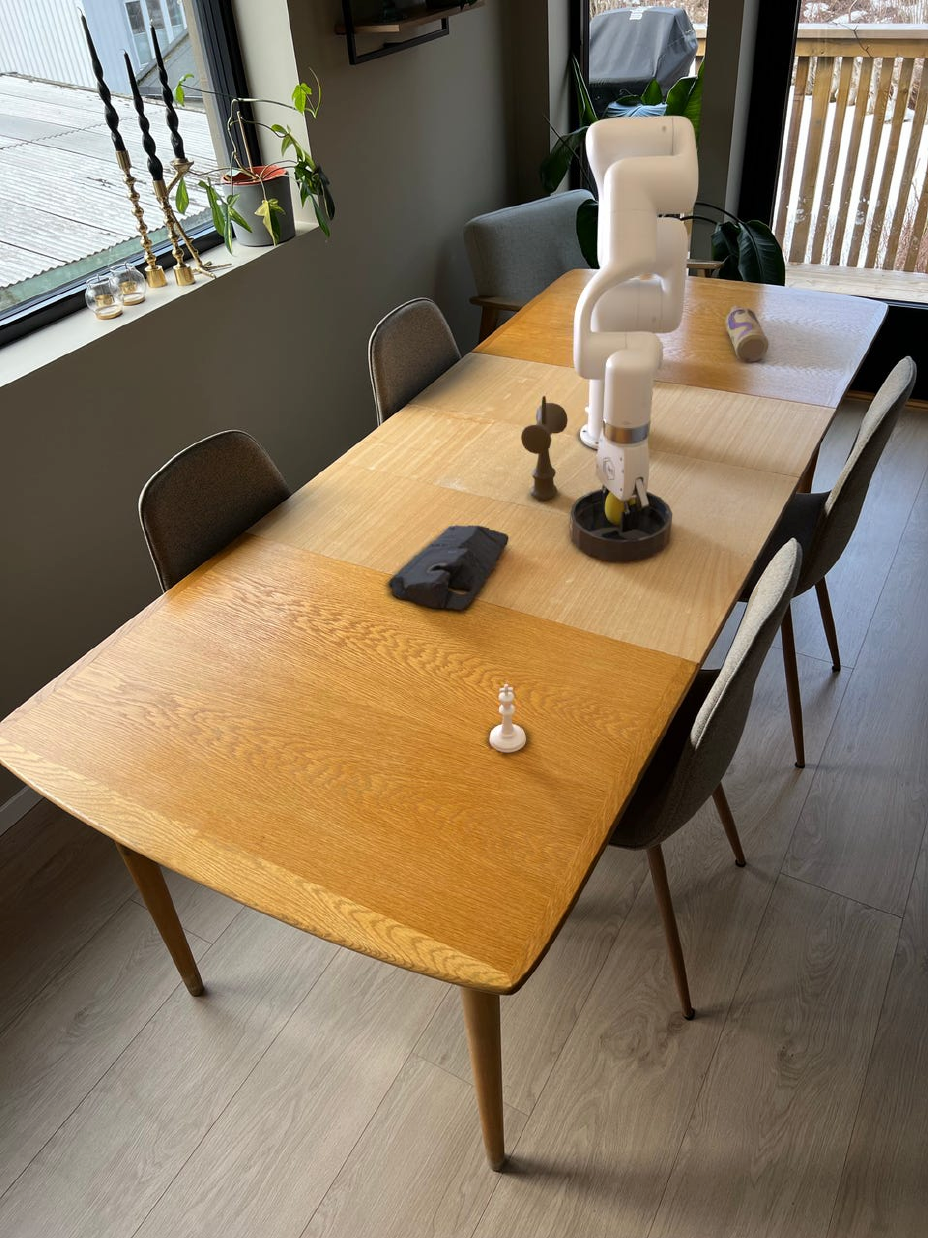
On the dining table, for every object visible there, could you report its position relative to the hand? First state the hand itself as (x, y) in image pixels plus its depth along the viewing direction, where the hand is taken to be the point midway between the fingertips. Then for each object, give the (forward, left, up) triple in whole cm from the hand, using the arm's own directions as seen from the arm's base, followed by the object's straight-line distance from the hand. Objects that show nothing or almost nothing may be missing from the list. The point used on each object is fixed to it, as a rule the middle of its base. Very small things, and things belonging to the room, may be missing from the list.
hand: (620, 519), depth 168 cm
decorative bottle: (-58, +67, -3) cm, 89 cm away
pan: (+1, 0, -3) cm, 3 cm away
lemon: (0, 0, -2) cm, 2 cm away
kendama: (-17, -6, -3) cm, 19 cm away
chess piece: (+38, -38, -3) cm, 54 cm away
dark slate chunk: (-2, -30, -3) cm, 31 cm away
